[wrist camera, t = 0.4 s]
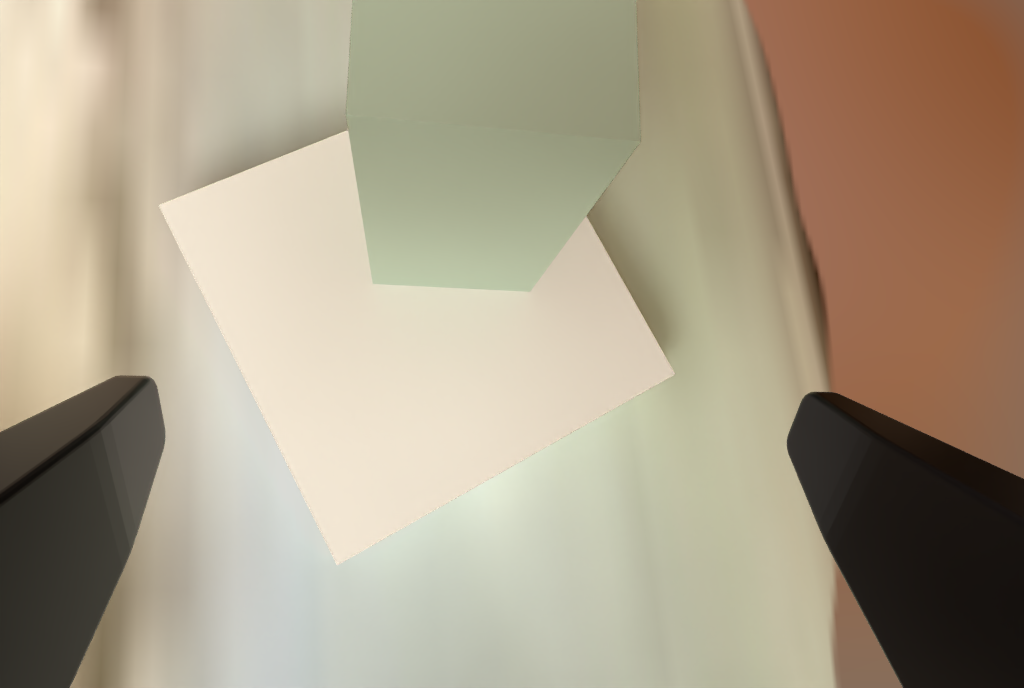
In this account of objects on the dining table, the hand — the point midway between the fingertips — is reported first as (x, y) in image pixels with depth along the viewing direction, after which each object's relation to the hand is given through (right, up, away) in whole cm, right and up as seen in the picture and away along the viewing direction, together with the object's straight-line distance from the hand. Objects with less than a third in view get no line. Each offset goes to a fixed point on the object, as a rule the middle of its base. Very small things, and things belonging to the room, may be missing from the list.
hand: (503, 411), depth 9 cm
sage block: (-2, +5, +12) cm, 13 cm away
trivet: (-3, +2, +13) cm, 14 cm away
